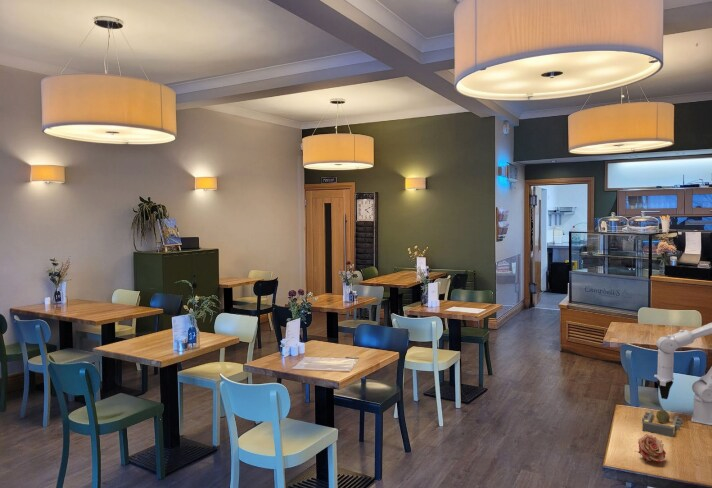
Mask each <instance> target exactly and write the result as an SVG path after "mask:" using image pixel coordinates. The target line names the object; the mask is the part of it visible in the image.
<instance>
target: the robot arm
mask: <svg viewBox="0 0 712 488" xmlns="http://www.w3.org/2000/svg"><path fill="white" fill-rule="evenodd" d="M678 331H679V332H675V333H673V334H667V336H661V337H659V338H658V339H657V341H656V342H655V346H656V347H657V371H656V372H657V373H656V374H654V376H653V377H654V378H656V379H657V380H656V385H657V387H658V389H659V393H660V398H661V399H663V400H668V397H669V394H670V391H671V388H672V386H673V383H674V365H675V364H674V363H675V360H674V359H675V356H674V353H675V351H676V350H677V349H679V348H680V349H681V348H682V347H685V346H688V345H690V344H693V343H694V342H695V340H697V339H698V338H702V337H705V336H710V335H712V322H709V323H707V324H704V325H702V326H699V327H697V328H695V329H693V330H688V329H680V330H678ZM691 390H692V392H693V393H694V396H693V411H692V412H693V415H692V416H691V422H693V423H698V424H703V425H708V426H712V366H711V367H710V368H709V370H708V371H707V373H706V374H704V375H702V376H701V377H699V379H697V380H696V381H694V382H693V384H692V386H691Z"/></svg>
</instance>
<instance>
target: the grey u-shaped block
mask: <svg viewBox="0 0 712 488" xmlns="http://www.w3.org/2000/svg"><path fill="white" fill-rule="evenodd" d="M653 417H654V411H653V410H650V412H649V411H648V412H647V411H645V414H644V415H643V417H641V419H642V420H641V423H642V428H641V429H642V432H646V433H650V434H651V433H652V434H657V435H661V436H666V437H671V438H674V435H675V430H677V431H680V430H681V427H682V424H683V419H682V418H681V417H679V415H675V416H674V419H673V421H672V424H670V425H666V424H663V423H662V424H661V423H656V422H652V420H653Z"/></svg>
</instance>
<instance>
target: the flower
mask: <svg viewBox="0 0 712 488" xmlns="http://www.w3.org/2000/svg"><path fill="white" fill-rule="evenodd" d="M637 443H638V451H637V450H634V452H637V453H638V454H640V456H641V457H643V459H644V460H645V463H646V464H647V462H648V461H650V462H652V461H656V462H657V463H658V464H660V463H661V462H664V459H666V454H667V452H666V451H665V449H664V443H663V441H662V440H660V439H658V438H657V437H656V436H653V435H652V434H651V435H649V434H648V433H645V434H644V435H642V436H641V437H640V438H639V439H638V442H637Z"/></svg>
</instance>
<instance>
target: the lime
mask: <svg viewBox="0 0 712 488" xmlns="http://www.w3.org/2000/svg"><path fill="white" fill-rule="evenodd" d="M655 417H656V419H657V420H658V421H659V422H660V424H661V423H662V424H667V423H668V422H669V421H670V418H671V417H670V414H669V413H668V412H667V411H666V410H664V409H660V410H658V411H657V412H656V414H655Z"/></svg>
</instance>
